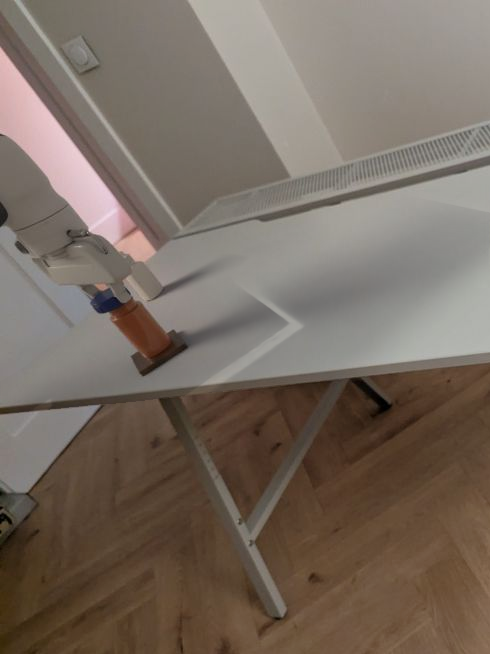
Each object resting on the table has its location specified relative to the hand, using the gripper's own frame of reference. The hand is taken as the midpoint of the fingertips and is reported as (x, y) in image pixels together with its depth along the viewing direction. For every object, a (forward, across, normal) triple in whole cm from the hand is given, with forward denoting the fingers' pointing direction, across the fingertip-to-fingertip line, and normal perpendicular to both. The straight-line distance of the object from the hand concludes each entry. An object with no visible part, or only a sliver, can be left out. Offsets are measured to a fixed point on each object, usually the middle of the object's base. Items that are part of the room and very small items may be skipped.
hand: (114, 301), depth 95 cm
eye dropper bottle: (+13, +26, -19) cm, 35 cm away
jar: (+12, 0, 0) cm, 12 cm away
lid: (-1, 0, 0) cm, 1 cm away
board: (+12, 0, 0) cm, 13 cm away
